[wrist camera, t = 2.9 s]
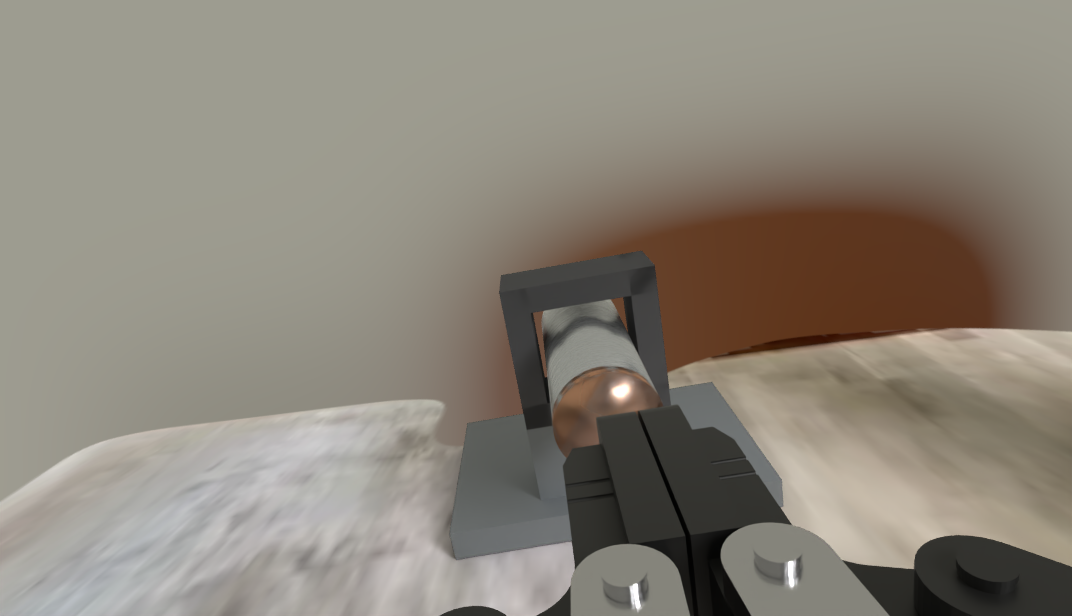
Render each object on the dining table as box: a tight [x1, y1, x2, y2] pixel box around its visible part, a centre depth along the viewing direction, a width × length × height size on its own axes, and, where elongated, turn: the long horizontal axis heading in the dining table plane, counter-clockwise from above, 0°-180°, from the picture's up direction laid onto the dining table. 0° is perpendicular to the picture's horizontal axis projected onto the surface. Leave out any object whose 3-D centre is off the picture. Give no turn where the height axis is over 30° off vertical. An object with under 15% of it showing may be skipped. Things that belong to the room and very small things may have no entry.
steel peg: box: [542, 299, 663, 458], centre depth 27 cm, size 4×11×4 cm, turn 2°
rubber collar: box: [499, 251, 671, 430], centre depth 30 cm, size 7×3×7 cm, turn 92°
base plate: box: [449, 382, 783, 560], centre depth 34 cm, size 16×11×6 cm
